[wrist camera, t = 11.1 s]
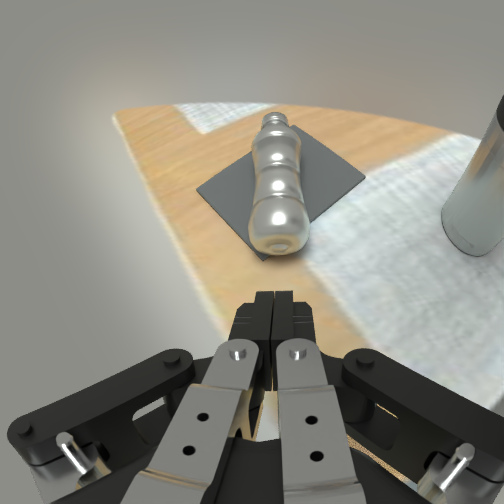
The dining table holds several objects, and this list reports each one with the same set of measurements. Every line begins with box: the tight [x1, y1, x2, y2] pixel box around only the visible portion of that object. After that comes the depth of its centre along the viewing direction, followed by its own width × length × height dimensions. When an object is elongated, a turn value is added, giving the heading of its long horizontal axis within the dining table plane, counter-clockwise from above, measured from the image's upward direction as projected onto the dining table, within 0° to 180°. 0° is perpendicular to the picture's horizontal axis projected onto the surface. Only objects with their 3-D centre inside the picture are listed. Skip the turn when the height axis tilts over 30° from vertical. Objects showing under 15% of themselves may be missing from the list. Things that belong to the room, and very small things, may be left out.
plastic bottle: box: [248, 112, 310, 255], centre depth 36 cm, size 6×7×20 cm
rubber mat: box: [196, 125, 366, 261], centre depth 40 cm, size 18×14×1 cm
